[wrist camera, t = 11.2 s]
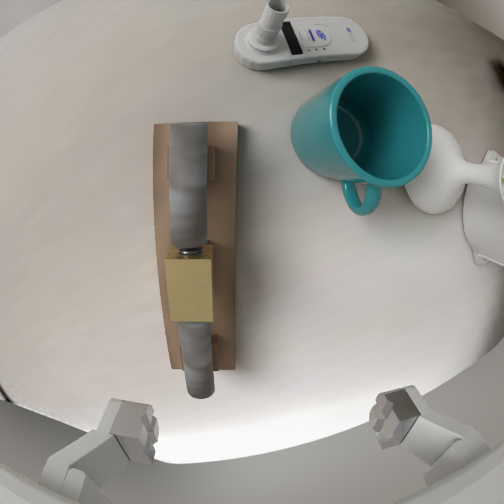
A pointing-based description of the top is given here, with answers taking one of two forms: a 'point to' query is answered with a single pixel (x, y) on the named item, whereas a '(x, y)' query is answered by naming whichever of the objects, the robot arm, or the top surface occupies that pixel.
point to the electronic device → (297, 39)
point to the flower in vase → (450, 175)
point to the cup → (364, 134)
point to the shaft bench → (214, 232)
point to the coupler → (190, 283)
